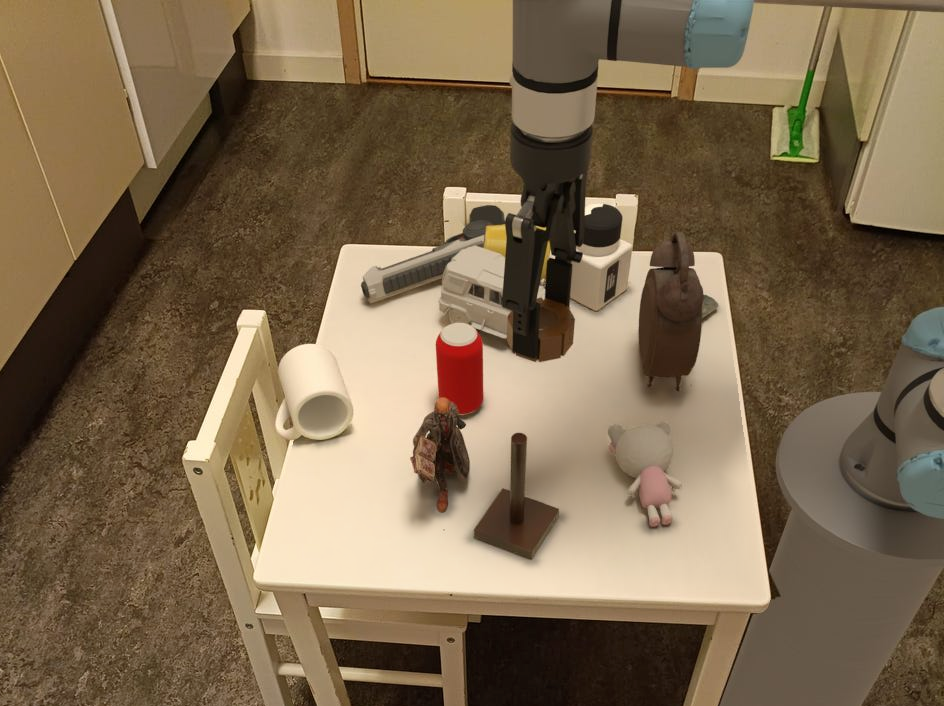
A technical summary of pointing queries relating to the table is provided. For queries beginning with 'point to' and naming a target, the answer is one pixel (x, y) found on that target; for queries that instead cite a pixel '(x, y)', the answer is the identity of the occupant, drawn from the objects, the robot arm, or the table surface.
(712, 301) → the stone
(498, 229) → the flower pot
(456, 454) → the figurine
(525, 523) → the peg stand
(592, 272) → the container
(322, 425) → the mug
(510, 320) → the ring
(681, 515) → the table surface
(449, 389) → the beverage can
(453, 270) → the toy car
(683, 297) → the alarm clock
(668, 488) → the toy
